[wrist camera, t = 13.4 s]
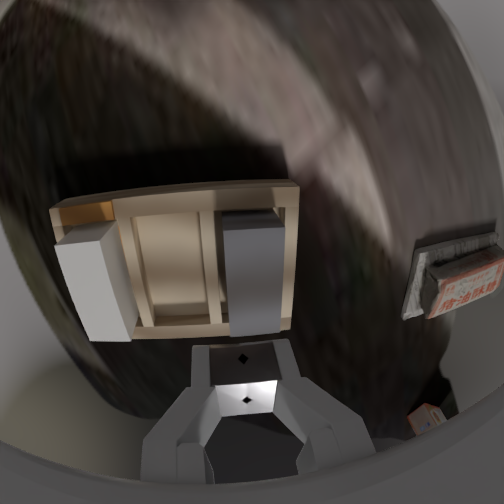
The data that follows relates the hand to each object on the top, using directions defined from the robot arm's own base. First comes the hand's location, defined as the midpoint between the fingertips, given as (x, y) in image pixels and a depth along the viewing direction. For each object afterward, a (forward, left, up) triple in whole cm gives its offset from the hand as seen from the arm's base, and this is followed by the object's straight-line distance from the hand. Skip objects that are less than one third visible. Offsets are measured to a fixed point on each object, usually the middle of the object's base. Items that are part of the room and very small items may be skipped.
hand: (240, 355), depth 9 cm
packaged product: (+9, +30, -16) cm, 35 cm away
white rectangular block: (+4, -11, -14) cm, 18 cm away
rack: (+4, -4, -16) cm, 17 cm away
